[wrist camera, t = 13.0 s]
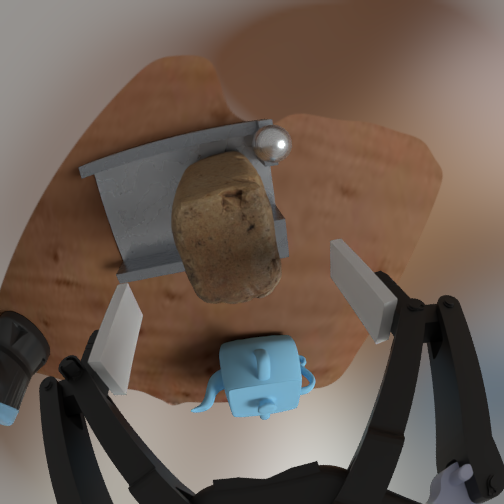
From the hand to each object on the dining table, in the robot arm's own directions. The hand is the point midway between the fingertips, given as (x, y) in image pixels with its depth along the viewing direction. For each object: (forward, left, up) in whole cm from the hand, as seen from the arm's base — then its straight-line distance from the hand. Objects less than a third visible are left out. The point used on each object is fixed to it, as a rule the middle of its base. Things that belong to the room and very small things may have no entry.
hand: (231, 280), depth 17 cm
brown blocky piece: (0, 0, -21) cm, 21 cm away
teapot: (-2, -32, -22) cm, 39 cm away
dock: (-4, 0, -22) cm, 22 cm away
